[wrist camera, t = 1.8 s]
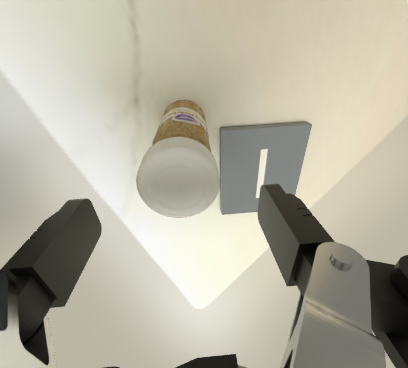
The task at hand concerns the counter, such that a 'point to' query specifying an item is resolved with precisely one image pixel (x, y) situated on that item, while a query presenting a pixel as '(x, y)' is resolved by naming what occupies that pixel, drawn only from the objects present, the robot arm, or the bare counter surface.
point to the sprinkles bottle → (179, 164)
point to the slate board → (259, 162)
